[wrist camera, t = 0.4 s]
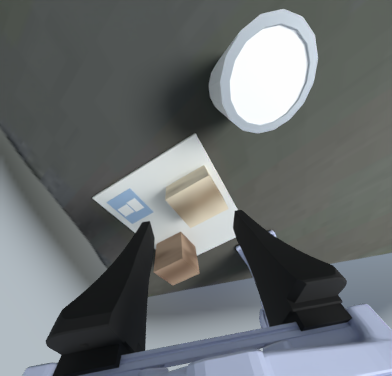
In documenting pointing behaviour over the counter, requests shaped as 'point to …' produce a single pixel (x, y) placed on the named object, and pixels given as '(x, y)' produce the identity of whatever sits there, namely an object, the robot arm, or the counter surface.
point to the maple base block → (195, 197)
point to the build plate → (157, 205)
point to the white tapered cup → (265, 72)
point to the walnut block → (176, 259)
